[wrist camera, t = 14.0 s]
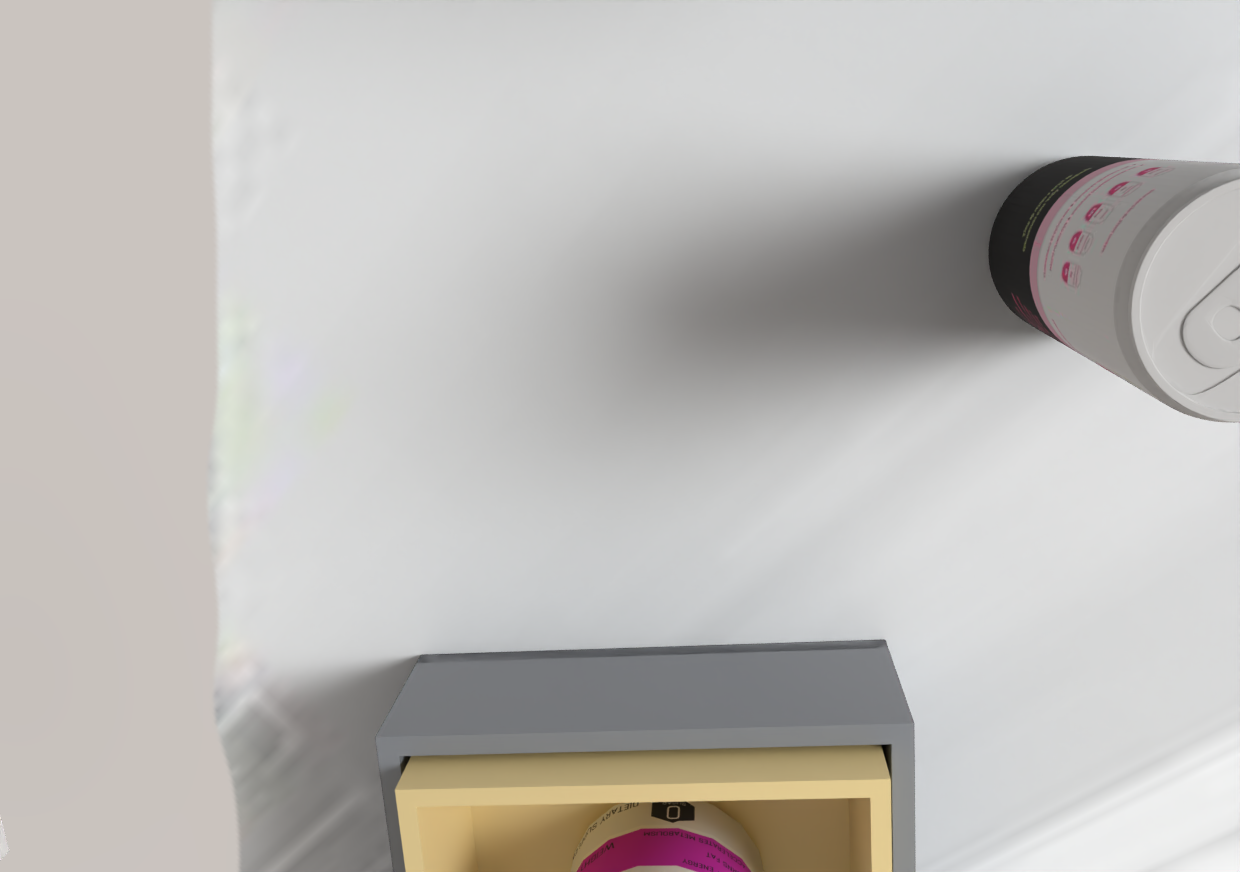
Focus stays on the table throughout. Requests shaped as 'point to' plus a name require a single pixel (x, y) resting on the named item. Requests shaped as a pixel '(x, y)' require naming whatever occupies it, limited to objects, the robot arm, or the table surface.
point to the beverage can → (1132, 272)
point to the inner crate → (596, 781)
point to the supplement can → (666, 840)
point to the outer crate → (655, 709)
